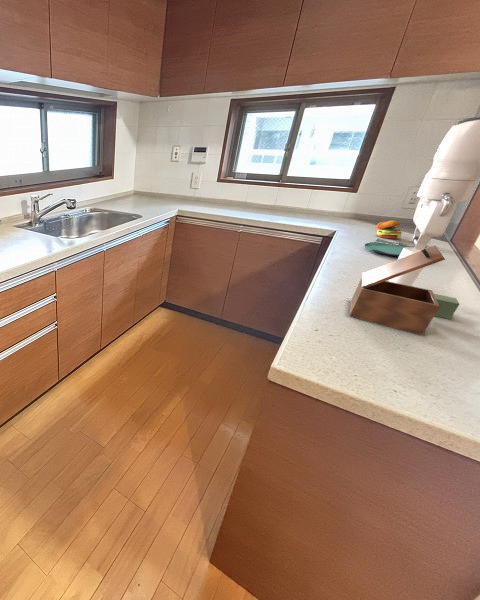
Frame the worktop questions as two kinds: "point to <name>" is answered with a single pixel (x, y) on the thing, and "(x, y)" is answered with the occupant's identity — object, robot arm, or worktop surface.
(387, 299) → the chest
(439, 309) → the block
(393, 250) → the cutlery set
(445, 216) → the robot arm
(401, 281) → the white tapered cylinder
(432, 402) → the worktop surface
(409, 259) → the lid
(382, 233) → the cheeseburger
